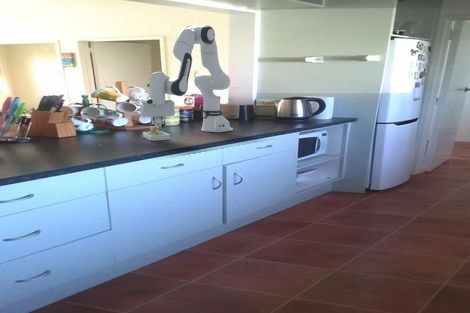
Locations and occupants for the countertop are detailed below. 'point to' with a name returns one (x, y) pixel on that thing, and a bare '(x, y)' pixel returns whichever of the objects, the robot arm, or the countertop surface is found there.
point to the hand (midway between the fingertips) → (158, 123)
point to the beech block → (154, 131)
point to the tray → (156, 136)
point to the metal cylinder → (158, 122)
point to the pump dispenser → (159, 127)
